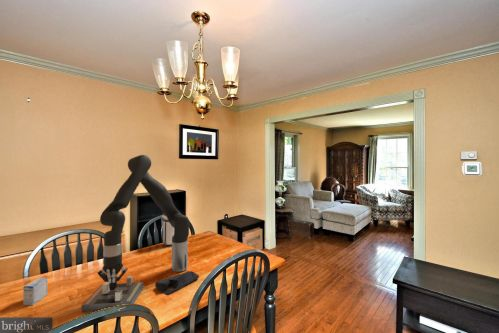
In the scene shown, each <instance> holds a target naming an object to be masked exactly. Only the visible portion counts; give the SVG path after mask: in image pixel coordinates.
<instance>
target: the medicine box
mask: <svg viewBox="0 0 499 333" xmlns="http://www.w3.org/2000/svg"><path fill="white" fill-rule="evenodd" d="M22 295H23V296H22V297H23V299H22V300H23V303H22V305H23V306H34V305H35V304H37V303H38V302H40V301H41V300H42V299H43V298H45V297H46V296H48V277H38V278H36V279H34V280H33V281H31V282H29V283H28V284H26V285H24V286H23V294H22Z"/></svg>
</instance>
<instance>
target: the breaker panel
mask: <svg viewBox="0 0 499 333" xmlns="http://www.w3.org/2000/svg"><path fill="white" fill-rule="evenodd" d="M133 277H134V276H133V275H128V276H127V277H126V282H124V283H123V282H121V283H117V287H116V289H115V290H112V291H110V289H109V292H108V293H107V294H102V286H103V284H104V283H103V284H100V285H99V287H98V288H96V289H95V291H94V292H93V293H92V294H91V295H90V296H89V297H88V298H87V299H86V300H85V302H83V303H82V304H81V313H88V312H87V311H91V312H98V311H97V310H101V309H104V308H108V307H113V306H117V305H122V304H135V303H136V301H137V299H138V298H139V296H140V295H141V292H142V291H143V289H144V281H140V282H139V281H137V282H134V281H133Z"/></svg>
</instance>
